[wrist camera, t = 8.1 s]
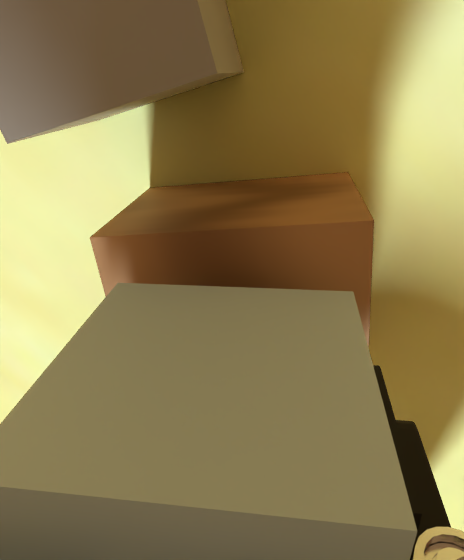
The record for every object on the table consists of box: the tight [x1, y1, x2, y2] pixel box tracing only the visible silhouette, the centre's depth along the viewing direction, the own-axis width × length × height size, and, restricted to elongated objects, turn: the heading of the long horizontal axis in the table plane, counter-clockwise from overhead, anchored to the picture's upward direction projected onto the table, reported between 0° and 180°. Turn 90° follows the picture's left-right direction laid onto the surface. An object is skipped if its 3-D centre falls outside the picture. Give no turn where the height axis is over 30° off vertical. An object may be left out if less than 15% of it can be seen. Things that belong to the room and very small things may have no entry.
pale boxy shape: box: [0, 283, 417, 560], centre depth 9 cm, size 6×6×6 cm
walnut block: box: [90, 172, 374, 348], centre depth 16 cm, size 8×8×6 cm
